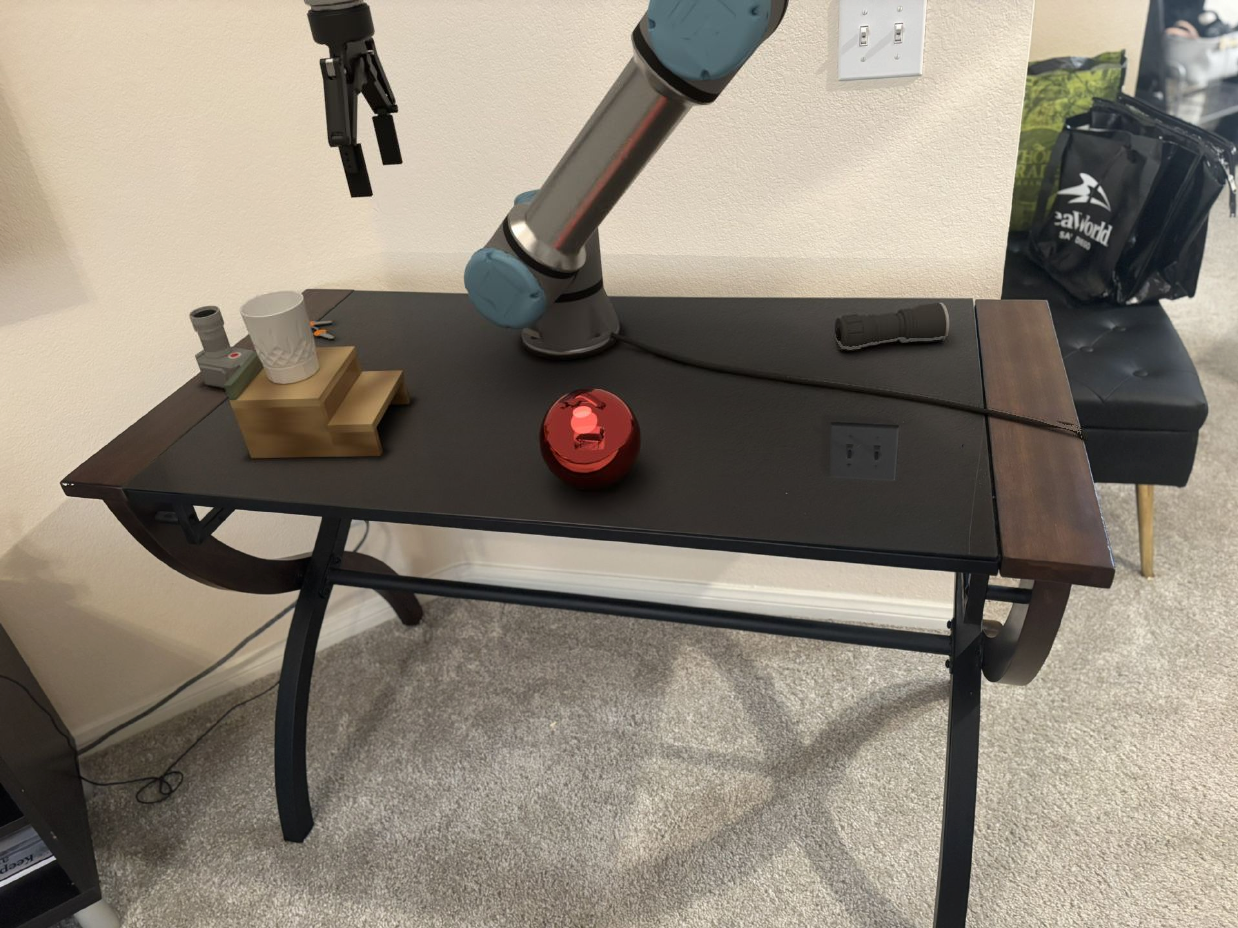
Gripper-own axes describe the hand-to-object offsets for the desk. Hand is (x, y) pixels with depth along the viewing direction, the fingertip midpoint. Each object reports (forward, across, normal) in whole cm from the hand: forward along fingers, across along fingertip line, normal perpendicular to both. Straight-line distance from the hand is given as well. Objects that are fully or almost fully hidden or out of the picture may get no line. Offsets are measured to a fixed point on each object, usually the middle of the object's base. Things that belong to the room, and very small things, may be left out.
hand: (378, 179), depth 122 cm
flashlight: (+29, -2, +70) cm, 76 cm away
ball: (+29, +30, +30) cm, 51 cm away
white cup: (+20, +17, -11) cm, 28 cm away
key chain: (+29, -13, -24) cm, 40 cm away
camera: (+29, +4, -26) cm, 39 cm away
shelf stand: (+29, +17, -8) cm, 34 cm away
